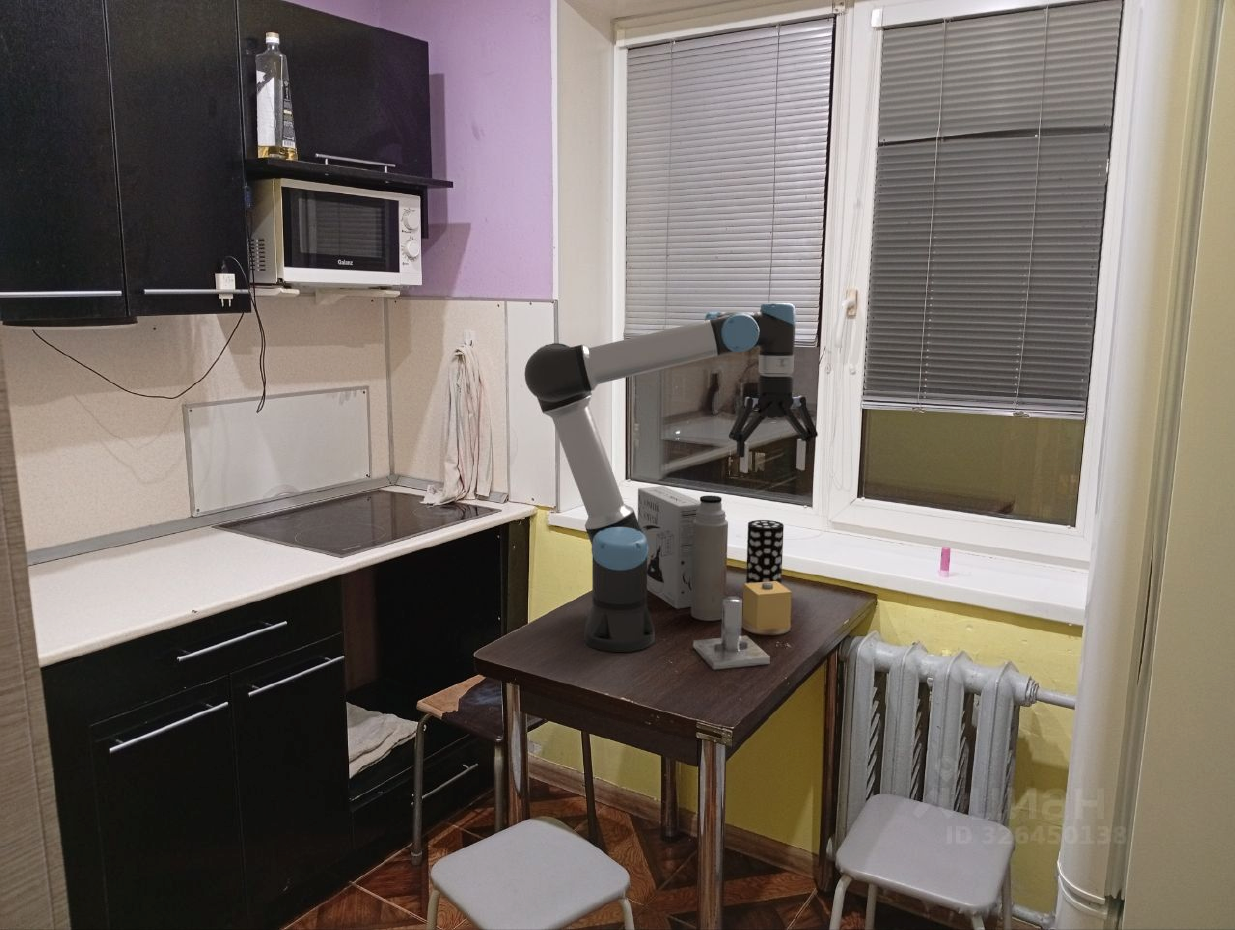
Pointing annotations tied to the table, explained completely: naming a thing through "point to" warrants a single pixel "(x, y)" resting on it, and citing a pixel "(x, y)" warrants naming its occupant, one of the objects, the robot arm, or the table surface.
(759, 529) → the white-spotted black cylinder
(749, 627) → the cork pad
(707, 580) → the thermos bottle
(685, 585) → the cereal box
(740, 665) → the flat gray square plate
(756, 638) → the table surface
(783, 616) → the yellow knobbed cube
